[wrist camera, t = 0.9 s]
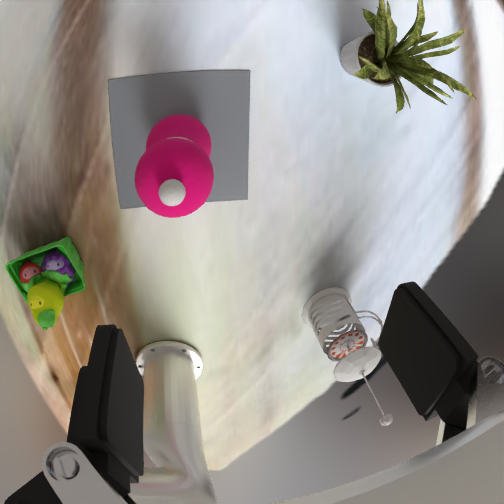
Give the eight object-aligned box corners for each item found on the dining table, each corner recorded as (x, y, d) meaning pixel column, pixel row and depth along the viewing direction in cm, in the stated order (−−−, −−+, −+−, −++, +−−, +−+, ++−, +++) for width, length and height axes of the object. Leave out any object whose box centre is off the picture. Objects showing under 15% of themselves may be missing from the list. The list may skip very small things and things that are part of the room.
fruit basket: (73, 225, 39) (45, 270, 29) (98, 275, 43) (81, 327, 34) (16, 247, 38) (-15, 291, 29) (42, 292, 43) (20, 341, 33)
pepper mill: (169, 178, 38) (155, 264, 21) (139, 130, 34) (94, 181, 18) (219, 150, 38) (247, 215, 21) (191, 100, 34) (194, 118, 17)
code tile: (250, 70, 33) (250, 70, 33) (247, 199, 42) (247, 199, 42) (108, 80, 30) (108, 80, 30) (120, 208, 39) (120, 209, 39)
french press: (292, 307, 54) (347, 433, 33) (350, 271, 52) (429, 385, 31) (313, 336, 59) (363, 447, 38) (365, 305, 57) (431, 408, 36)
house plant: (413, 36, 33) (498, 38, 19) (394, 118, 39) (476, 148, 26) (327, -3, 29) (402, -33, 15) (306, 89, 36) (375, 101, 22)
